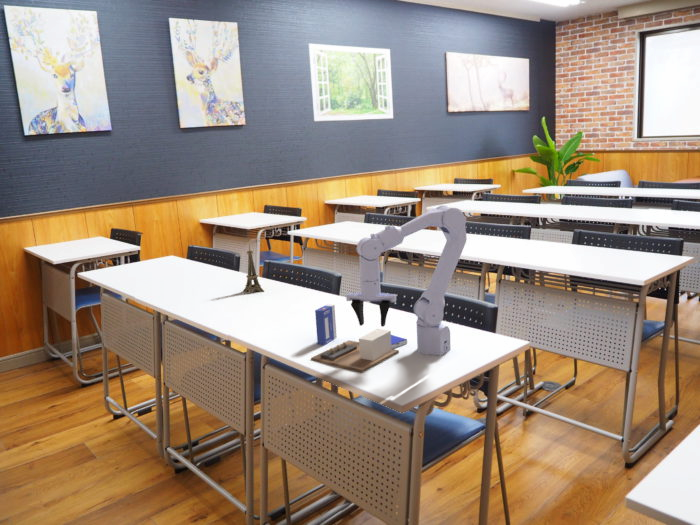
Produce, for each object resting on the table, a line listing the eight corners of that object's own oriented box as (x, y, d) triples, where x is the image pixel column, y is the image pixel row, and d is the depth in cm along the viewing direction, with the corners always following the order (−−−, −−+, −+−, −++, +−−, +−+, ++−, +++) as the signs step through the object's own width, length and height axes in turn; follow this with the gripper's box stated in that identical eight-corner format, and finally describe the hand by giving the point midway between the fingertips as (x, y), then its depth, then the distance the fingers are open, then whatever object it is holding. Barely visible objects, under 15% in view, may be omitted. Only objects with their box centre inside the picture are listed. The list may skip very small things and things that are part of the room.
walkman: (325, 346, 180) (322, 309, 178) (317, 345, 181) (314, 309, 179) (337, 339, 187) (335, 303, 185) (330, 338, 188) (327, 302, 186)
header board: (398, 352, 171) (398, 342, 170) (362, 372, 157) (361, 361, 156) (349, 342, 182) (348, 332, 182) (311, 360, 169) (310, 349, 168)
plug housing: (391, 350, 171) (390, 330, 170) (373, 360, 163) (372, 340, 162) (378, 347, 174) (377, 328, 172) (360, 358, 166) (358, 338, 165)
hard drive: (361, 337, 182) (388, 345, 173) (379, 330, 187) (407, 338, 178) (361, 341, 183) (388, 350, 173) (379, 335, 188) (407, 343, 178)
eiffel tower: (260, 293, 257) (256, 238, 252) (270, 298, 248) (265, 241, 243) (238, 297, 251) (233, 241, 247) (246, 302, 242) (241, 244, 238)
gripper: (397, 276, 166) (399, 321, 168) (350, 276, 170) (353, 320, 173) (392, 282, 159) (394, 329, 162) (342, 281, 164) (345, 327, 166)
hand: (372, 325), depth 167 cm, fingers open, 6 cm apart
